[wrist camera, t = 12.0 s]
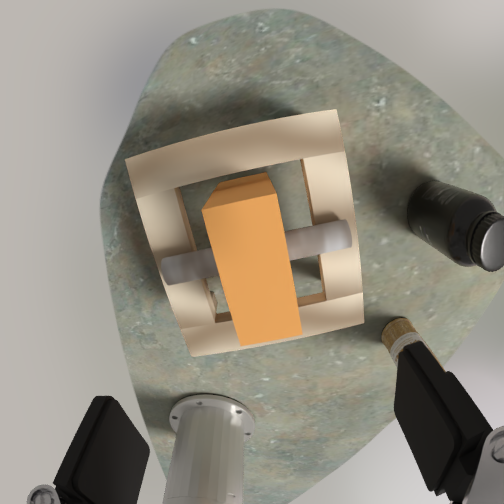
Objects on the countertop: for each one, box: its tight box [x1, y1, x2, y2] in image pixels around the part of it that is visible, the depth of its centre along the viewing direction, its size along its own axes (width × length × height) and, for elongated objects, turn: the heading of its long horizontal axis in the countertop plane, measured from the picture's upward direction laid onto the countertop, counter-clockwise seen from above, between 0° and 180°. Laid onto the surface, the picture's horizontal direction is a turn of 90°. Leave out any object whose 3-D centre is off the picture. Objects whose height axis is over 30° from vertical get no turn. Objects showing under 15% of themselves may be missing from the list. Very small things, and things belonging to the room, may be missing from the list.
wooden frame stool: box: [125, 109, 364, 357], centre depth 26 cm, size 17×15×11 cm
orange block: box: [202, 172, 303, 346], centre depth 22 cm, size 9×4×10 cm, turn 12°
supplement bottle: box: [407, 181, 504, 272], centre depth 25 cm, size 7×7×12 cm
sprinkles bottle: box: [381, 318, 446, 372], centre depth 29 cm, size 5×5×14 cm
